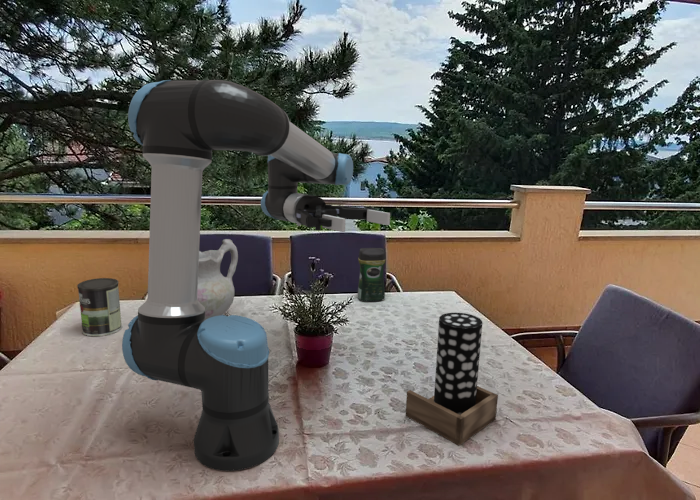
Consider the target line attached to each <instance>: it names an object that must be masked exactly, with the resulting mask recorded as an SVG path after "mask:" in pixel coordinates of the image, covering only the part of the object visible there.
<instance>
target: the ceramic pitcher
mask: <svg viewBox="0 0 700 500" xmlns="http://www.w3.org/2000/svg"><path fill="white" fill-rule="evenodd" d="M227 252H229V253H230V257H231V261H230V264H229V268H228V270H227V275H226V276H224V275H223V274H222V273H221V263H222V260H223V257H224V255H225V254H226V253H227ZM238 253H239V252H238V247H237V246H236V245H235V243H233V239H232V240H231V239H230V238H225V239H224V238H223V240H222V241H221V246H220V247H219V249H217V250H215V249H214V250H213V249H209V250H205V251H201V250H199V267H198V291H197V299H198V301H199V302H200V303H201V304H202V305H203V306H204V307H205V320H206V319H208V318H211V317H214V316H219V315H225V313H226V312H227V311H229V309H230V308H231V306H232V304H233V302H234V299H235V287H234V282H233V276H234V274H235V272H236V269H237V265H238V260H239V254H238Z"/></svg>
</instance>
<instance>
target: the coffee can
mask: <svg viewBox="0 0 700 500" xmlns="http://www.w3.org/2000/svg"><path fill="white" fill-rule="evenodd" d="M76 287H77V292H78V298H79V299H78V301H79V310H80V318H81V327H82V331H81V333H82V334H83V335H84V336H86V335H87V337H96V338H97V337H104V336H105V337H106V336H111V335H113V334H115V333H118V332H119V331H121V329H122V328H123V326H122V317H121V316H122V315H121V305H120V303H121V302H120V294H119V293H120V291H119V280H118V279H117V278H116V279H115V278H110V277H99V278H92V279H87V280H84V281H81V282H79V283H78V284H76Z"/></svg>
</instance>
